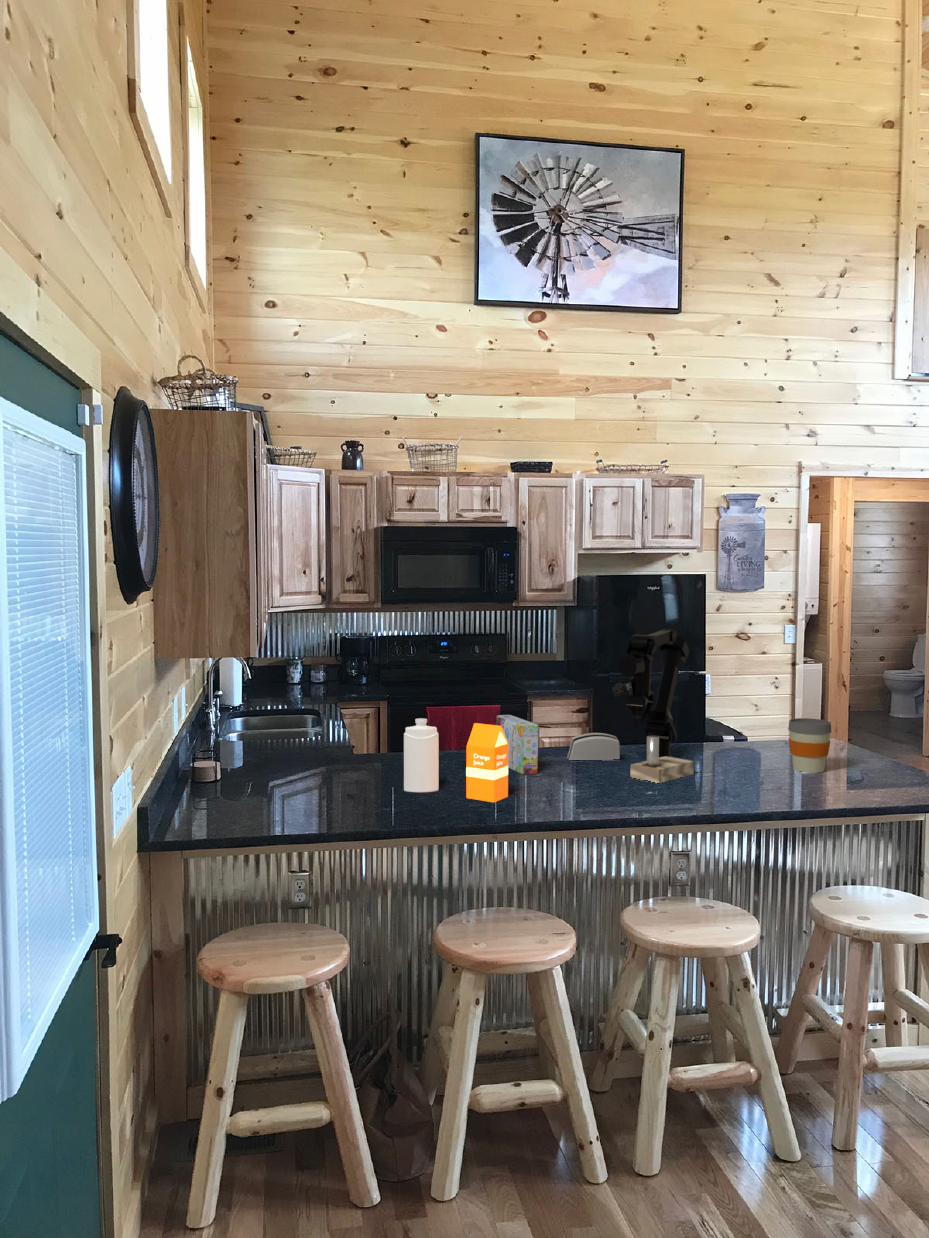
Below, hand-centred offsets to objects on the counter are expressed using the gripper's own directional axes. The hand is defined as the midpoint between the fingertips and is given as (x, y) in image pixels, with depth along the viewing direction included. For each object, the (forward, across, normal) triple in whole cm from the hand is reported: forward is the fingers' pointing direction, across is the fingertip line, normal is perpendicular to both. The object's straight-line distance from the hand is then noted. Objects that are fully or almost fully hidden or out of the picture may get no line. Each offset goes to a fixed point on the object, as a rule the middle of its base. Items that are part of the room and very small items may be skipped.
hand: (638, 725), depth 305 cm
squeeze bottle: (+18, +50, -51) cm, 74 cm away
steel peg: (+14, +13, +7) cm, 20 cm away
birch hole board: (+13, +9, +9) cm, 18 cm away
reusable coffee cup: (+11, -15, +50) cm, 54 cm away
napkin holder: (+14, -7, -15) cm, 21 cm away
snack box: (+15, +12, -35) cm, 40 cm away
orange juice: (+17, +51, -32) cm, 62 cm away
